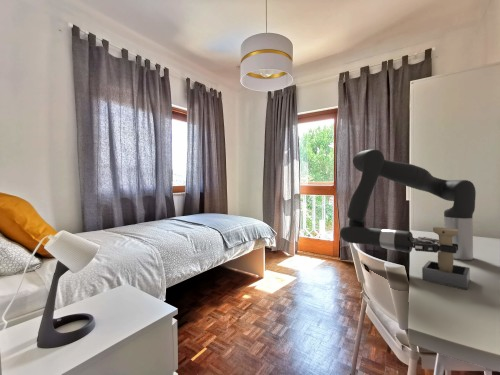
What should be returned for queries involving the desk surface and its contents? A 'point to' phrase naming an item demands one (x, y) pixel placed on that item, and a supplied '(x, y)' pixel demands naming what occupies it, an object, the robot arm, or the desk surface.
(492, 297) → the desk surface
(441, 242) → the handle
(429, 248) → the robot arm
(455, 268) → the grey square tray
